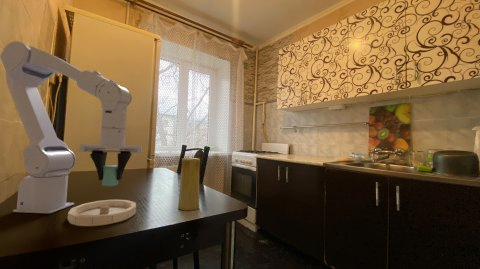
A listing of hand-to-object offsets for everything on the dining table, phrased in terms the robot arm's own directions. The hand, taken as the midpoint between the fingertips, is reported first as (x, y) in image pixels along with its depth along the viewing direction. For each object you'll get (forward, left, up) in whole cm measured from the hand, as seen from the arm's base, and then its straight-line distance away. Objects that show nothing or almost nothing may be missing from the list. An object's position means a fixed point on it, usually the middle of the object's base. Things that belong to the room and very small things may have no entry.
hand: (110, 179), depth 57 cm
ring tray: (+1, -3, -8) cm, 9 cm away
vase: (+20, +6, -9) cm, 23 cm away
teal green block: (0, 0, -1) cm, 1 cm away
